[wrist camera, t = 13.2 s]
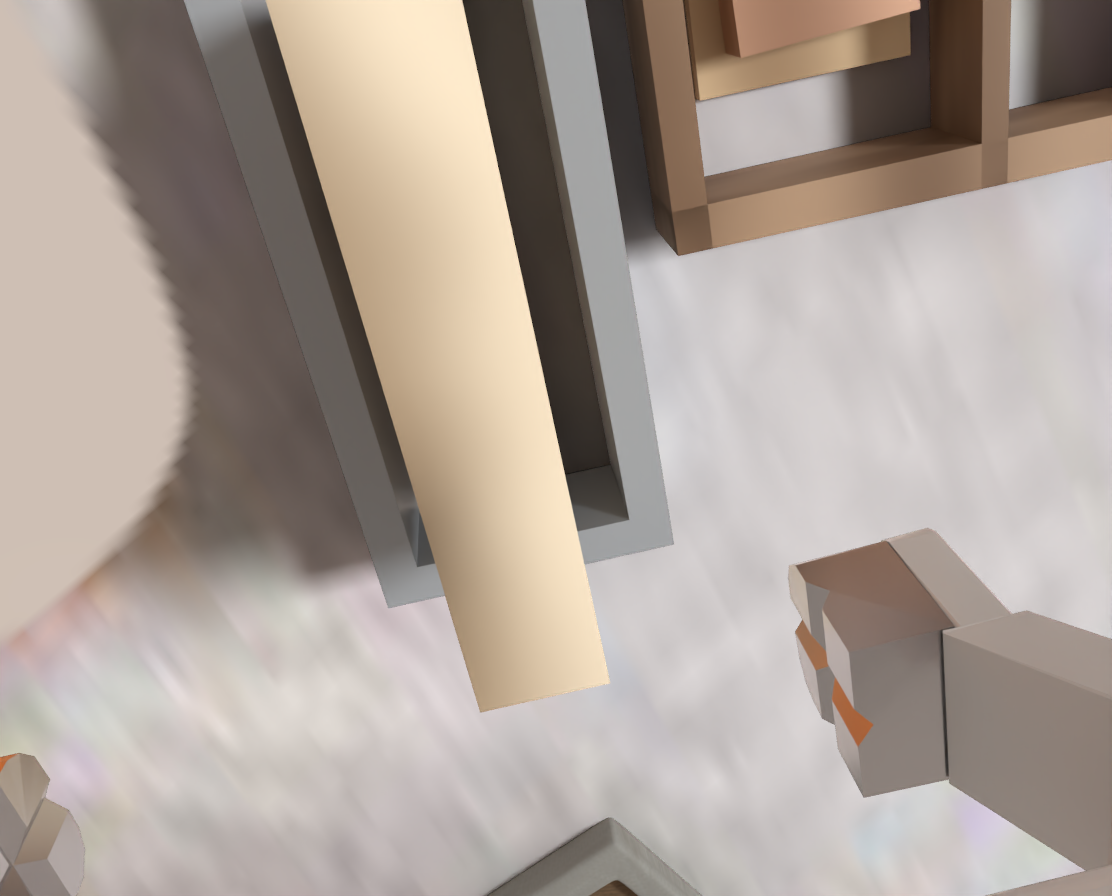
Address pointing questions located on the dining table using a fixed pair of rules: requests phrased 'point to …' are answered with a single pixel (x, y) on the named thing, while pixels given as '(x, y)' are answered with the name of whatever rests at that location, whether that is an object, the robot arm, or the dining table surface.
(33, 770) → the robot arm
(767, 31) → the offcut upper
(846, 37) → the offcut lower
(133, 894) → the dining table surface
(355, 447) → the cradle
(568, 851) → the grey framed brown tray
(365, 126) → the chamfered cream block
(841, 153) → the brown divided wooden tray
